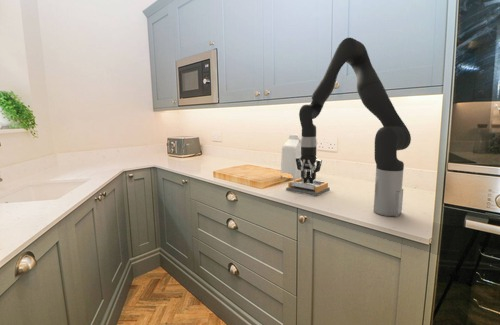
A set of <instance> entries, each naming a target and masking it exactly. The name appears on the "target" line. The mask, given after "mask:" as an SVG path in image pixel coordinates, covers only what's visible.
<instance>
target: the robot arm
mask: <svg viewBox="0 0 500 325" xmlns="http://www.w3.org/2000/svg"><path fill="white" fill-rule="evenodd" d="M345 64H348V65H350V67H351V68H352V70H353V72H354V74H355V77H356V91H357V94H358V96H359V98H360V101H361V102H362V104H363V105H364V107H365V108H366V109H367V110H368V111H369V112H370V113H371V114H372V115H374V116H375V118H377V119H378V120H379V121H380V123H381V125H382V127H380V128H379V129H378V130H377V131H376V134H375V137H374V162H375V164H376V165H375V166H376V168H375V179H374V180H375V184H374V197H373V198H374V199H373V212H374V213H375V214H377V215H380V216H386V217H396V218H397V217H399V216H400V215H401V214H402V211H403V199H404V188H403V180H404V168H405V163H404V161H402V160H399V159H398V156H397V153H398V151H403V150H406V149H407V148H409V146H410V144H411V141H412V136H411V133H410V131H409V129H408V127H407V125H406V124H405V123H404V121H403V119H402V118H401V117H400V115H399V113H397V110H396V108H395V106H394V104H393V103H392V100H391V99H390V97H389V95H388V93H387V90H386V89H385V86H384V85H383V83H382V81H381V79H380V77H379V75H378V73H377V72H376V70H375V68H374V66H373V64H372V62H371V59H370V56H369V53H368V50H367V48H366V46H365V45H364V44H363V43H362V42H360V41H359V40H357V39H355V38H353V37H346V38H344V39H343V40H342V41H341V42H340V43H339V44H338V46H337V48H336V49H335V52H334V53H333V57H332V58H331V60H330V63H329V64H328V67H327V69H326V71H325V74H323V77H322V79H321V80H320V82H319V83H318V85H317V86H316V87H315V90H314V91H313V92H312V95H311V102H310V103H309V104H303V105H302V106H301V107H300V109H299V113H298V117H299V121H300V126H301V138H300V140H301V158H296V164H297V169H298V170H300V171H301V177H302V179H304V176H305V169H304V165H305V164H309V166H310V169H311V170H310V172H311V171H312V177H311V178H312V180H316V178H317V173H319V172H320V171H321V167H322V162H323V160H322V159H318V158H317V145H318V144H317V126H316V125H315V124H314V119H316V118H317V117H318V116H319V115H321V112H322V110H323V108H324V104H325V103H326V102H327V100H328V99H329V97H330V96H331V94H332V93H333V91H334V89H335V86H336V83H337V78H338V76H339V73H340V71H341V68H342V67H344V65H345ZM301 161H302V165H301Z"/></svg>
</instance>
